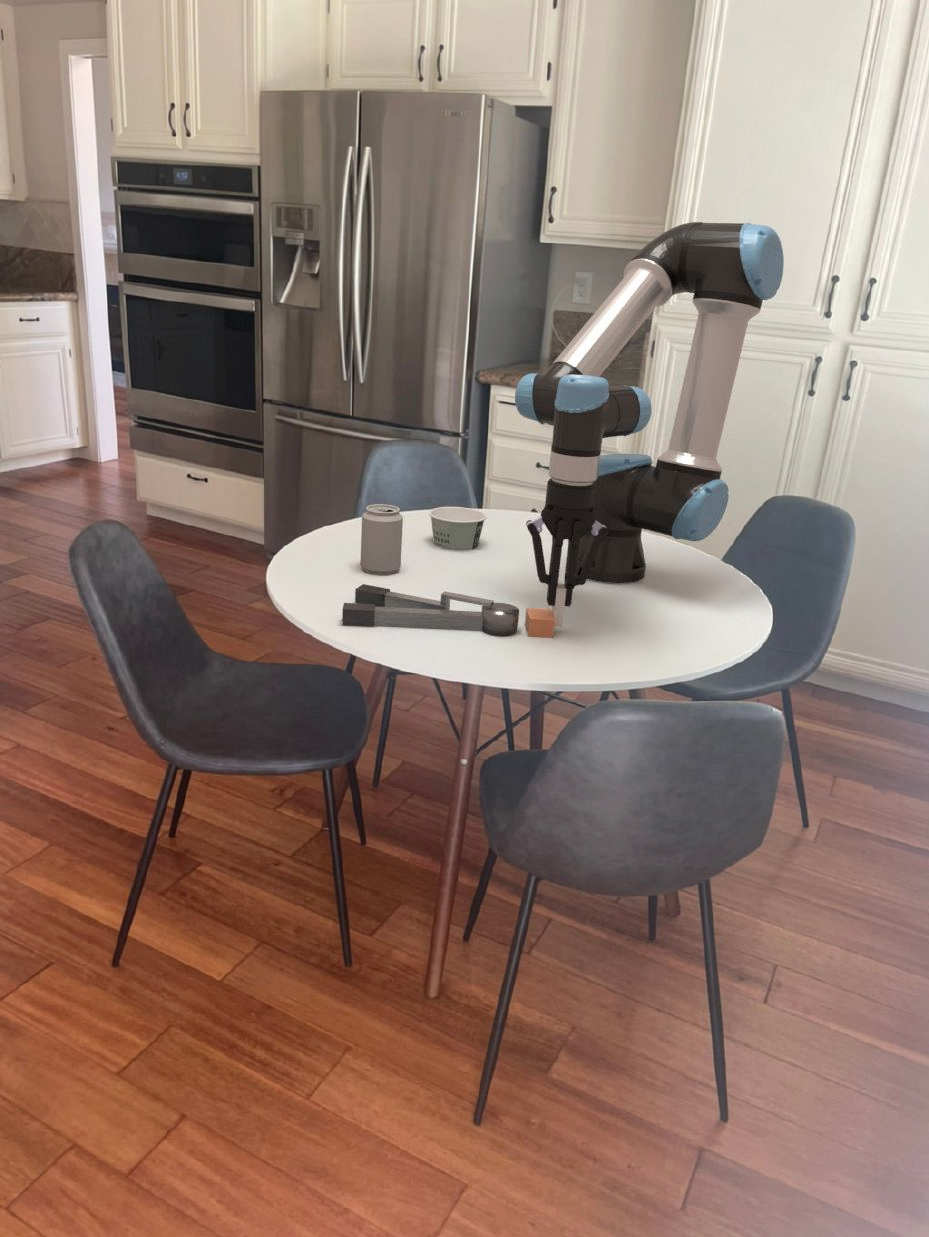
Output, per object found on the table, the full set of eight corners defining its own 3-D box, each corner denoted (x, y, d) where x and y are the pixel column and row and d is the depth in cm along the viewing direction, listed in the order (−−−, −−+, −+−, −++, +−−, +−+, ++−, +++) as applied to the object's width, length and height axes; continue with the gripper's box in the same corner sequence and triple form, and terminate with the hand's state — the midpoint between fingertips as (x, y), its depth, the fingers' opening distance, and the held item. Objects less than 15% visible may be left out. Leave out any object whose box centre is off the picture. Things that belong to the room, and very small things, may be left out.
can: (394, 578, 172) (397, 514, 168) (355, 572, 174) (357, 509, 169) (404, 566, 179) (407, 505, 175) (366, 561, 180) (369, 500, 176)
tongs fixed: (515, 623, 155) (517, 603, 153) (519, 637, 149) (521, 616, 148) (344, 615, 153) (344, 594, 151) (341, 628, 147) (342, 607, 146)
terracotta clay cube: (548, 626, 155) (550, 609, 154) (553, 637, 150) (555, 620, 149) (524, 625, 154) (526, 607, 153) (528, 636, 150) (530, 618, 149)
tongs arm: (493, 623, 153) (495, 599, 152) (487, 628, 151) (489, 604, 149) (362, 597, 160) (363, 574, 159) (355, 602, 158) (355, 579, 156)
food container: (415, 543, 194) (417, 512, 192) (449, 533, 204) (451, 503, 202) (463, 556, 188) (465, 524, 186) (495, 544, 198) (498, 514, 195)
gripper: (609, 477, 147) (592, 617, 156) (527, 472, 147) (513, 614, 155) (619, 488, 140) (600, 634, 149) (533, 483, 140) (518, 630, 148)
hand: (556, 624), depth 152 cm, fingers closed
